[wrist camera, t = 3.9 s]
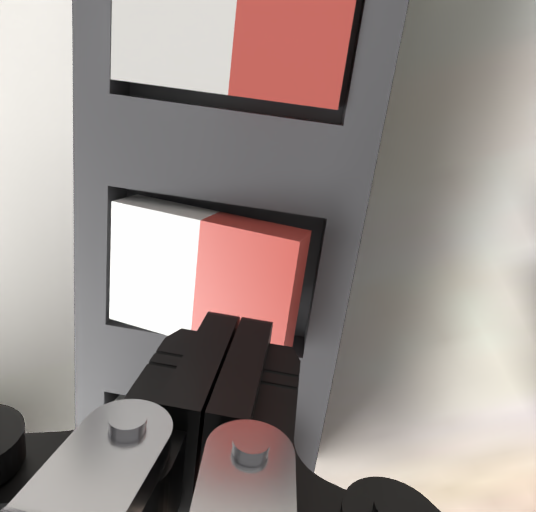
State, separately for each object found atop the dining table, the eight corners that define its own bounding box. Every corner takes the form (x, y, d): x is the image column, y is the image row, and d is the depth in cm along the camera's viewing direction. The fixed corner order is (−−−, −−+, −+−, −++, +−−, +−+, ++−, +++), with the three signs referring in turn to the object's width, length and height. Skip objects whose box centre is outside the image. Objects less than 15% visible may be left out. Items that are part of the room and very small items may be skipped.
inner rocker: (125, -86, 12) (113, -108, 11) (350, -45, 13) (366, -60, 11) (121, 80, 13) (110, 79, 12) (326, 108, 14) (338, 109, 13)
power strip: (143, -83, 16) (71, -160, 12) (399, -54, 16) (433, -123, 11) (125, 428, 23) (75, 511, 19) (302, 461, 23) (297, 554, 18)
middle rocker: (137, 194, 15) (111, 200, 14) (311, 230, 14) (299, 242, 13) (133, 303, 17) (109, 318, 15) (292, 347, 15) (280, 368, 14)
